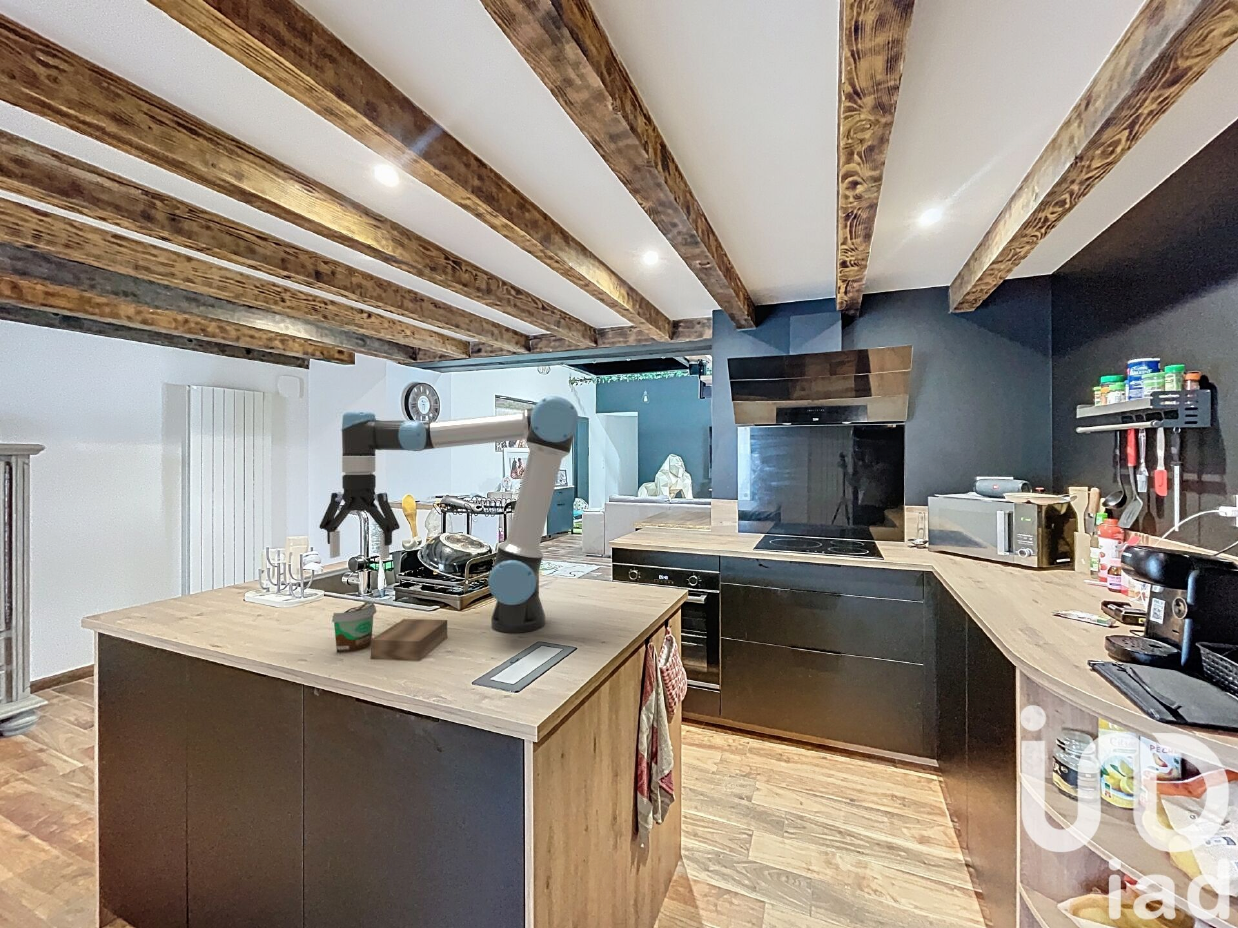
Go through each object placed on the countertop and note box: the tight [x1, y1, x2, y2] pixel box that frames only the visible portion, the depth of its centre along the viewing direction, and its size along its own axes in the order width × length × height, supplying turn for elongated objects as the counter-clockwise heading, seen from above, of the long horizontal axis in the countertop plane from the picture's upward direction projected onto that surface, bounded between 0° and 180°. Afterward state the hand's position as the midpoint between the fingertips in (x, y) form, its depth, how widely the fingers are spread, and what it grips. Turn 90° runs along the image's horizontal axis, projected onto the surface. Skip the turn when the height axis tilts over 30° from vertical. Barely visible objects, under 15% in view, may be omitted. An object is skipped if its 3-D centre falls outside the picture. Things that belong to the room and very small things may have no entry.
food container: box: [331, 600, 377, 654], centre depth 133 cm, size 12×6×10 cm, turn 168°
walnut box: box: [370, 618, 448, 662], centre depth 132 cm, size 12×16×5 cm
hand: (359, 557), depth 133 cm, fingers open, 13 cm apart
